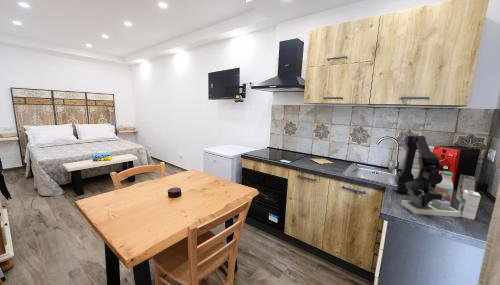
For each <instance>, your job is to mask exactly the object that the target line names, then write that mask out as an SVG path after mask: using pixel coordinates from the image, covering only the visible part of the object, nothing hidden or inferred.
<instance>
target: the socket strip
mask: <svg viewBox="0 0 500 285" xmlns="http://www.w3.org/2000/svg"><path fill="white" fill-rule="evenodd" d="M411 202H412V200H405V199H403V200H402V199H401V202H400V205H402V206H403V207H405V209H407V210H409V211H411V212H412V213H413V214H415V215H416V214H417V215H427V216H438V217H439V216H440V217H442V216H443V217H455V218H456V217H458V218H460V217H461V216H460V215H461V212H459V211H458V209H456V208H454V207H451V206H450V209H449V211H446V210H438V209H436V208H434V207H433V206H432V203H433V201H430V202H429V203H428V208H427V209H417V208H416V207H414V206H413V205H411Z"/></svg>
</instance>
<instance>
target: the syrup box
mask: <svg viewBox="0 0 500 285" xmlns="http://www.w3.org/2000/svg"><path fill="white" fill-rule="evenodd" d="M481 198H482V195H480V193H479V192H477V191H475V192H473V191H469V190H464V191H463V195H462V198H461V202H459V205H458V209H457V211H459V212H461V215H460V217H461V218H465V219H468V220H472V221H474V220H475V218H476V215H477V211H478V208H479V204H480V201H481Z"/></svg>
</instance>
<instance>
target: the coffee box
mask: <svg viewBox="0 0 500 285" xmlns="http://www.w3.org/2000/svg"><path fill="white" fill-rule="evenodd" d="M478 182H479V180H478V178H476V177H475V176H473V175H467V174H460V177H459V180H458V184H457V189H456V194H455V199H456V200H457V201H458V202H459V203H460V202H461V198H462V195H463V191H464V190H469V191H473V192H477V186H478V184H479V183H478Z"/></svg>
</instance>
